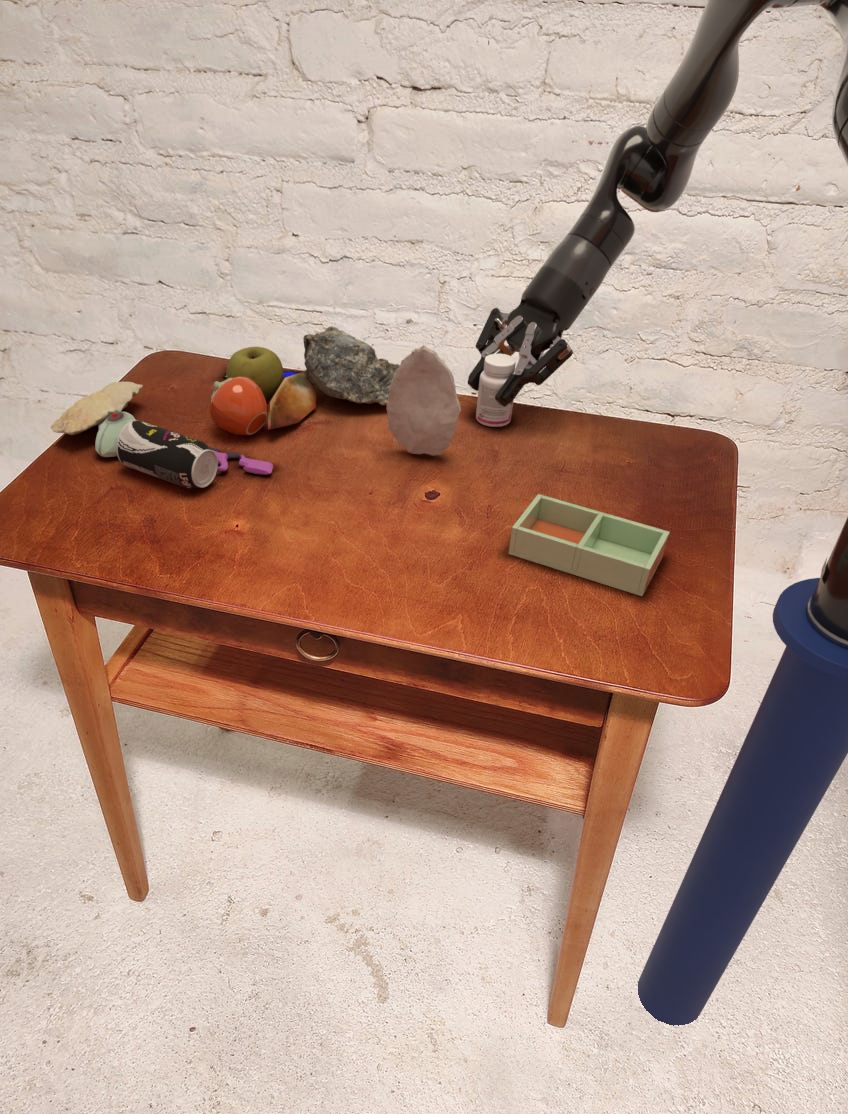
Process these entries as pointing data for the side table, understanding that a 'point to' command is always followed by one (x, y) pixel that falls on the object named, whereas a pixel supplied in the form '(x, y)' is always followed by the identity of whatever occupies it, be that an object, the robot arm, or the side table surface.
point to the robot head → (111, 433)
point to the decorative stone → (291, 401)
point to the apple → (257, 368)
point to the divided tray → (589, 544)
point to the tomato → (238, 406)
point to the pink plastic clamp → (243, 463)
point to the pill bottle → (494, 390)
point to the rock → (347, 367)
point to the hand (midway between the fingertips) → (486, 394)
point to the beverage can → (166, 455)
